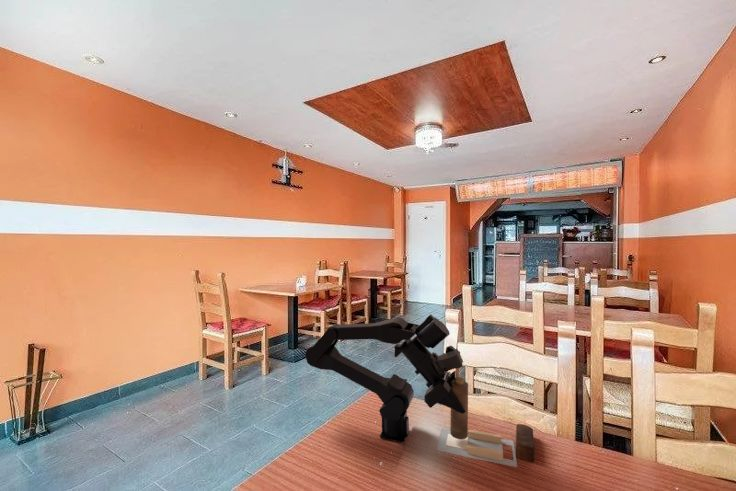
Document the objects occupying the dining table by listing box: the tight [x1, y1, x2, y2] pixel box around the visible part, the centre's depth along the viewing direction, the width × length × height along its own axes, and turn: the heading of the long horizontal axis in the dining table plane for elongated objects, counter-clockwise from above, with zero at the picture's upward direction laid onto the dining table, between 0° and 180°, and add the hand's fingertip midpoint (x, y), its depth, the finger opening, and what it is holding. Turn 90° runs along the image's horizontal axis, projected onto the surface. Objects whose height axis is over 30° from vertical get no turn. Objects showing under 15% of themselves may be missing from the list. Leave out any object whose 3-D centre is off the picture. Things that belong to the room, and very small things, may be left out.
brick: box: [515, 423, 535, 463], centre depth 79 cm, size 11×4×5 cm, turn 154°
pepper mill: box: [450, 376, 469, 439], centre depth 81 cm, size 4×4×14 cm
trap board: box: [436, 427, 518, 468], centre depth 80 cm, size 18×10×3 cm, turn 70°
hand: (464, 407), depth 81 cm, fingers closed on pepper mill, 4 cm apart
